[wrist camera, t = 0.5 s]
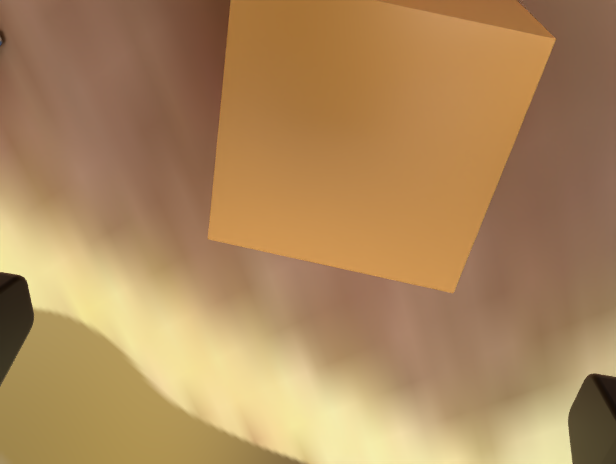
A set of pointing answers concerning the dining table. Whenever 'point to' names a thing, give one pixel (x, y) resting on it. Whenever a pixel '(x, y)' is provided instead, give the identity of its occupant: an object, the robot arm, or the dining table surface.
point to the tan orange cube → (370, 129)
